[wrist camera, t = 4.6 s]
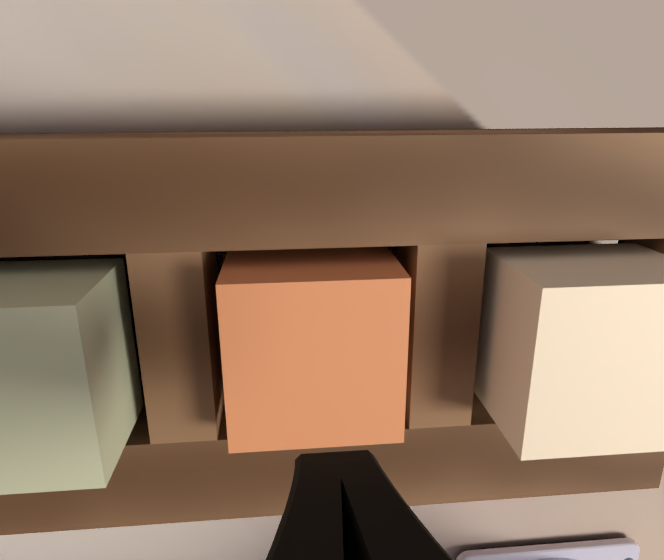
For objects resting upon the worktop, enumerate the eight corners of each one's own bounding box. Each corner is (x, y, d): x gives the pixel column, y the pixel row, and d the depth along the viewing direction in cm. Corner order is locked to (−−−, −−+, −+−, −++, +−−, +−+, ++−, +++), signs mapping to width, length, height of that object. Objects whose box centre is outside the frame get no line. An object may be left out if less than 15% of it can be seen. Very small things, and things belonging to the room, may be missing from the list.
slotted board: (608, 437, 21) (658, 487, 19) (-19, 476, 19) (-70, 540, 16) (666, 127, 18) (740, 132, 15) (-106, 134, 16) (-192, 141, 13)
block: (143, 405, 17) (106, 487, 14) (-19, 414, 17) (-103, 501, 13) (123, 258, 16) (74, 305, 12) (-56, 263, 15) (-163, 313, 12)
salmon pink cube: (379, 377, 19) (404, 442, 15) (238, 384, 19) (228, 453, 15) (383, 241, 17) (411, 278, 14) (229, 245, 17) (215, 284, 13)
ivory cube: (610, 381, 19) (691, 449, 15) (471, 388, 18) (520, 460, 15) (635, 243, 17) (733, 281, 13) (484, 247, 17) (542, 288, 13)
